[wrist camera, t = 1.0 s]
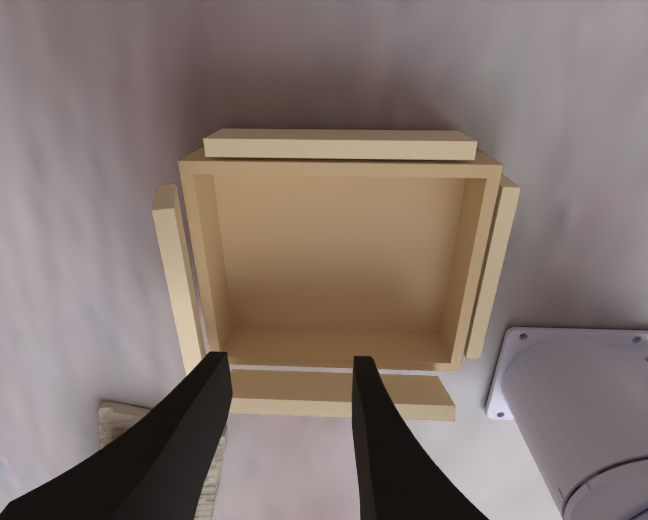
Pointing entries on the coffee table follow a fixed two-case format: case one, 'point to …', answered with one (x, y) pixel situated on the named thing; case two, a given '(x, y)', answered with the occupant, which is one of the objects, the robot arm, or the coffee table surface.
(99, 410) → the packaged product
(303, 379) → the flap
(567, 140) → the coffee table surface
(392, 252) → the carton
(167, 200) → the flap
